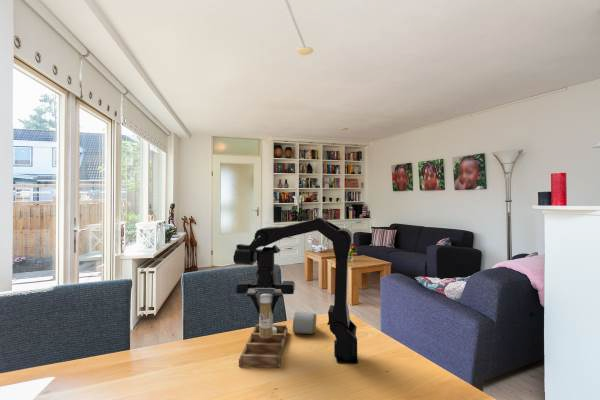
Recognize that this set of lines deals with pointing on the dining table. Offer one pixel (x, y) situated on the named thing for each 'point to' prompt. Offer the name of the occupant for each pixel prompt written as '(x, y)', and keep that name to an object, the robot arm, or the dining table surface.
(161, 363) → the dining table surface
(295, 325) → the ceramic mug
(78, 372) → the dining table surface
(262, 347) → the rack
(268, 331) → the sprinkles bottle
